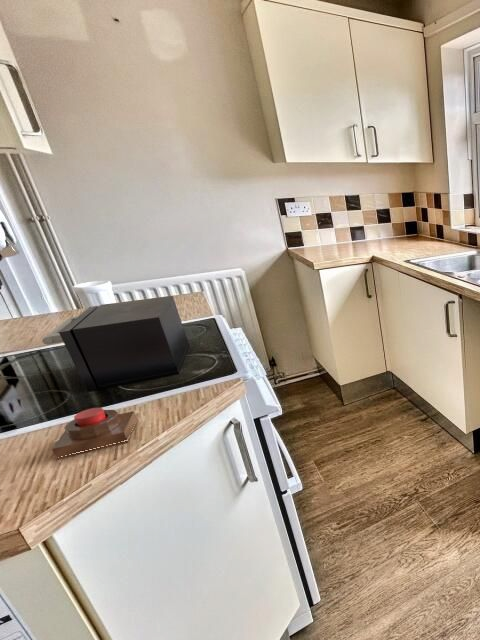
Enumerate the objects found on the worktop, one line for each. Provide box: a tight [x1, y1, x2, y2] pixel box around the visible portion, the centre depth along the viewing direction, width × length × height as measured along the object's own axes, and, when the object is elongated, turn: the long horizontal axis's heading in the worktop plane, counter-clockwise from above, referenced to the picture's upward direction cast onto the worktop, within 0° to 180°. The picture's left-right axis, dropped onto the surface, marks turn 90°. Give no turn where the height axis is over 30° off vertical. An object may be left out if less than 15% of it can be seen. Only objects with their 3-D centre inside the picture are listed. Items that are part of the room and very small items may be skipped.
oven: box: [73, 295, 190, 391], centre depth 99 cm, size 14×20×14 cm
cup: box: [72, 280, 117, 311], centre depth 122 cm, size 8×8×14 cm
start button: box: [73, 407, 107, 427], centre depth 72 cm, size 4×4×2 cm
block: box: [51, 409, 139, 461], centre depth 73 cm, size 9×8×4 cm
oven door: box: [41, 306, 99, 393], centre depth 94 cm, size 5×20×14 cm, turn 30°
